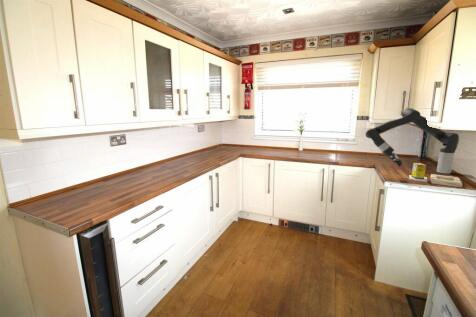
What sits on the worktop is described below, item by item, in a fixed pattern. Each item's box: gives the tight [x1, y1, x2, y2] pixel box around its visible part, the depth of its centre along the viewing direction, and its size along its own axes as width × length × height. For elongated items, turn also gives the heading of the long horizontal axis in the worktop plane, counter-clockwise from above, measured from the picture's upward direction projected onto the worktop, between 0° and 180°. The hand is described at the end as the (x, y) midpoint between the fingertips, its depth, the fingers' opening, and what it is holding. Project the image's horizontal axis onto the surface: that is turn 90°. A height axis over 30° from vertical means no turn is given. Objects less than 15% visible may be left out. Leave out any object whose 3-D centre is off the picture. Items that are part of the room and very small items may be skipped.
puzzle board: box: [429, 173, 463, 188], centre depth 172 cm, size 20×16×2 cm
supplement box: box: [411, 162, 427, 179], centre depth 178 cm, size 6×6×11 cm
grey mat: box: [408, 174, 428, 183], centre depth 179 cm, size 12×11×1 cm
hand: (401, 164), depth 184 cm, fingers open, 8 cm apart
